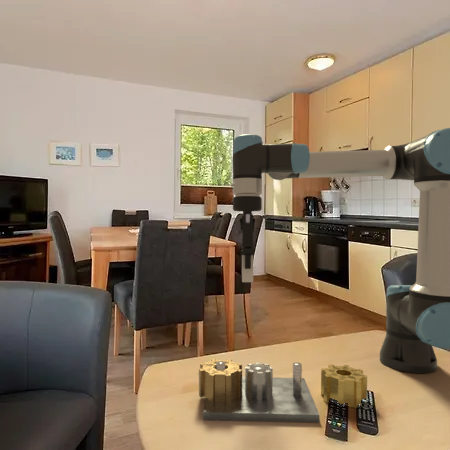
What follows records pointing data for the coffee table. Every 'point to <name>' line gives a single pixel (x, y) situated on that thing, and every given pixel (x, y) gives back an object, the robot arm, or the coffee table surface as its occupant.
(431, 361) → the robot arm
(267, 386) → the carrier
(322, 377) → the gear
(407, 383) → the coffee table surface
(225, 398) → the seated gear
